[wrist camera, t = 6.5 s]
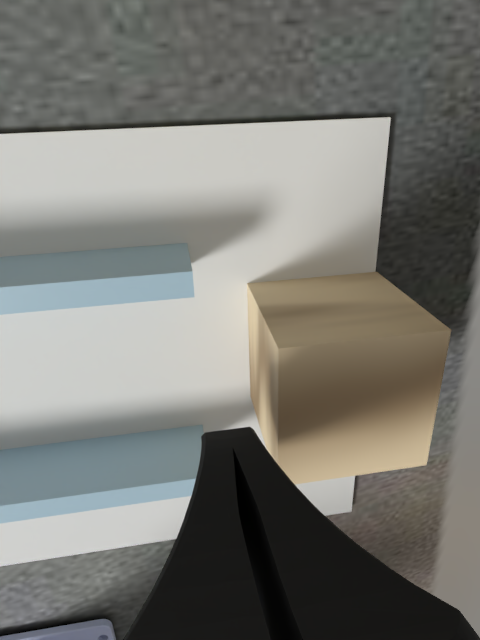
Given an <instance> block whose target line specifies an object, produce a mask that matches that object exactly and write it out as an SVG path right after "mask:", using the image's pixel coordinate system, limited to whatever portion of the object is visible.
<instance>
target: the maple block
mask: <svg viewBox="0 0 480 640" xmlns="http://www.w3.org/2000/svg"><path fill="white" fill-rule="evenodd" d="M247 298H248V331H249V365H250V397H251V400H252V403H253V406H254V410H255V413H256V416H257V419H258V423H259V426H260V429H261V433H262V436H263V439H264V442H265V446H266V449H267V451H268V452H269V453H270V455H271V456H272V457H273V459H274V460H275V461H276V463H277V464H278V465H279V466H280V468H281V469H282V470H283V471H284V472H285V474H286V475H287V476H288V477H289V478H290V480H291V481H292V482H293V483H294V484H302V483H308V482H315V481H322V480H329V479H336V478H342V477H349V476H356V475H363V474H370V473H376V472H383V471H390V470H397V469H404V468H410V467H417V466H424V465H426V464H427V459H428V454H429V448H430V443H431V437H432V432H433V427H434V421H435V416H436V410H437V405H438V399H439V394H440V389H441V383H442V378H443V372H444V367H445V361H446V356H447V351H448V345H449V340H450V334H451V329H449V328H448V327H447V326H446V325H444V324H443V323H442V322H440V321H439V320H438V319H437V318H435V317H434V316H433V315H432V314H430V313H429V312H428V311H426V310H425V309H424V308H423V307H421V306H420V305H419V304H417V303H416V302H415V301H414V300H412V299H411V298H410V297H408V296H407V295H406V294H405V293H403V292H402V291H401V290H400V289H398V288H397V287H396V286H394V285H393V284H392V283H391V282H389V281H388V280H387V279H385V278H384V277H383V276H382V275H380V274H379V273H378V272H368V273H357V274H346V275H335V276H324V277H312V278H301V279H290V280H279V281H268V282H256V283H247Z"/></svg>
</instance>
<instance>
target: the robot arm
mask: <svg viewBox="0 0 480 640" xmlns="http://www.w3.org/2000/svg"><path fill="white" fill-rule="evenodd" d="M201 441H202V445H201V456H200V462H199V468H198V472H197V476H196V480H195V484H194V489H193V492H192V496H191V499H190V502H189V505H188V508H187V511H186V514H185V517H184V520H183V523H182V526H181V528H180V531H179V533H178V536H177V538H176V541H175V543H174V545H173V548H172V550H171V553H170V555H169V557H168V559H167V561H166V563H165V565H164V567H163V569H162V572H161V574H160V576H159V578H158V580H157V582H156V584H155V586H154V588H153V589H152V591H151V593H150V595H149V597H148V599H147V600H146V602H145V604H144V605H143V607H142V609H141V611H140V612H139V614H138V616H137V618H136V619H135V621H134V623H133V625H132V626H131V628H130V630H129V631H128V633H127V634H126V636H125V638H124V639H123V640H480V638H479V636H478V635H477V633H476V632H475V631H474V629H473V628H472V627H471V625H470V624H469V623H468V621H467V620H466V619H465V618H464V616H463V615H462V614H461V612H460V611H459V610H458V609H456V608H454V607H453V606H451V605H449V604H447V603H446V602H444V601H441V600H440V599H439V598H437V597H435V596H433V595H432V594H430V593H428V592H426V591H425V590H423V589H421V588H419V587H418V586H416V585H414V584H413V583H411V582H410V581H408V580H407V579H405V578H404V577H402V576H401V575H399V574H398V573H396V572H395V571H393V570H391V569H390V568H389V567H387V566H386V565H385V564H383V563H382V562H381V561H379V560H378V559H377V558H375V557H374V556H373V555H371V554H370V553H369V552H367V551H366V550H365V549H363V548H362V547H360V546H359V545H358V544H357V543H355V542H354V541H353V540H352V539H351V538H349V537H348V536H347V535H346V534H345V533H343V532H342V531H341V530H340V529H339V528H338V527H337V526H335V525H334V524H333V523H332V522H331V521H330V520H329V519H328V518H327V517H325V516H324V515H323V514H322V513H321V512H320V511H319V510H318V509H317V508H316V507H315V506H314V505H313V504H312V503H311V502H310V501H309V500H308V498H307V497H306V496H305V495H304V494H303V493H302V492H301V491H300V490H299V489H298V488H297V487H296V485H295V484H294V483H293V482H292V481H291V480H290V478H289V477H288V476H287V475H286V474H285V472H284V471H283V470H282V469H281V468H280V466H279V465H278V464H277V463H276V461H275V460H274V459H273V457H272V456H271V455H270V453H269V452H268V451H267V449H266V448H265V446H264V445H263V443H262V442H261V440H260V439H259V437H258V436H257V434H256V432H255V431H254V429H252V428H251V427H243V428H236V429H228V430H220V431H212V432H205V433H204V434H203V435H202V436H201ZM0 640H116V637H115V633H114V629H113V625H112V623H111V621H109V620H108V619H98V620H92V621H86V622H80V623H75V624H69V625H63V626H57V627H52V628H46V629H40V630H34V631H29V632H23V633H17V634H11V635H6V636H0Z"/></svg>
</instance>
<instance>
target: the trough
mask: <svg viewBox="0 0 480 640" xmlns="http://www.w3.org/2000/svg"><path fill="white" fill-rule="evenodd" d="M191 297H195V296H194V283H193V271H192V266H191V261H190V256H189V250H188V245H187V243H178V244H165V245H152V246H138V247H125V248H112V249H98V250H85V251H72V252H59V253H45V254H32V255H19V256H5V257H0V315H3V314H14V313H25V312H36V311H47V310H58V309H69V308H81V307H92V306H103V305H114V304H125V303H136V302H147V301H158V300H169V299H180V298H191ZM203 434H204V432H203V425H194V426H186V427H179V428H171V429H163V430H155V431H147V432H139V433H131V434H123V435H115V436H107V437H99V438H91V439H83V440H75V441H67V442H59V443H51V444H43V445H35V446H27V447H19V448H11V449H3V450H0V524H1V523H8V522H14V521H21V520H28V519H35V518H42V517H49V516H56V515H63V514H70V513H77V512H84V511H90V510H97V509H104V508H111V507H118V506H125V505H132V504H139V503H146V502H153V501H160V500H166V499H173V498H180V497H187V496H192V492H193V489H194V484H195V480H196V476H197V472H198V468H199V462H200V456H201V445H202V441H201V436H202V435H203Z"/></svg>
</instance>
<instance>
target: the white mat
mask: <svg viewBox="0 0 480 640" xmlns="http://www.w3.org/2000/svg"><path fill="white" fill-rule="evenodd" d="M390 121H391V117H376V118H353V119H329V120H306V121H283V122H260V123H237V124H214V125H191V126H168V127H144V128H121V129H98V130H75V131H52V132H29V133H6V134H0V257H5V256H19V255H32V254H45V253H59V252H72V251H85V250H98V249H112V248H125V247H138V246H152V245H165V244H178V243H187V245H188V250H189V256H190V261H191V266H192V271H193V283H194V296H195V297H191V298H180V299H169V300H158V301H147V302H136V303H125V304H114V305H103V306H92V307H81V308H69V309H58V310H47V311H36V312H25V313H14V314H3V315H0V450H3V449H11V448H19V447H27V446H35V445H43V444H51V443H59V442H67V441H75V440H83V439H91V438H99V437H107V436H115V435H123V434H131V433H139V432H147V431H155V430H163V429H171V428H179V427H186V426H194V425H203V432H204V433H205V432H212V431H220V430H228V429H236V428H243V427H251V428H252V429H254V431H255V432H256V434H257V436H258V437H259V439H260V440H261V442H262V443H263V445H264V446H265V442H264V439H263V436H262V433H261V429H260V426H259V423H258V419H257V416H256V413H255V410H254V406H253V403H252V400H251V397H250V365H249V331H248V298H247V283H256V282H268V281H279V280H290V279H301V278H312V277H324V276H335V275H346V274H357V273H368V272H375V271H376V261H377V251H378V241H379V231H380V221H381V211H382V201H383V191H384V181H385V171H386V161H387V151H388V141H389V131H390ZM265 448H266V446H265ZM354 481H355V476H349V477H342V478H336V479H329V480H322V481H315V482H308V483H302V484H295V485H296V487H297V488H298V489H299V490H300V491H301V492H302V493H303V494H304V495H305V496H306V497H307V498H308V500H309V501H310V502H311V503H312V504H313V505H314V506H315V507H316V508H317V509H318V510H319V511H320V512H321V513H322V514H323V515H324V516H326V515H333V514H339V513H346V512H351V511H352V501H353V491H354ZM190 499H191V496H187V497H180V498H173V499H166V500H160V501H153V502H146V503H139V504H132V505H125V506H118V507H111V508H104V509H97V510H90V511H84V512H77V513H70V514H63V515H56V516H49V517H42V518H35V519H28V520H21V521H14V522H8V523H1V524H0V566H6V565H12V564H18V563H25V562H31V561H38V560H44V559H50V558H57V557H63V556H70V555H76V554H83V553H89V552H95V551H102V550H108V549H115V548H121V547H127V546H134V545H140V544H147V543H153V542H160V541H166V540H172V539H176V538H177V536H178V533H179V531H180V528H181V526H182V523H183V520H184V517H185V514H186V511H187V508H188V505H189V502H190Z"/></svg>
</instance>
